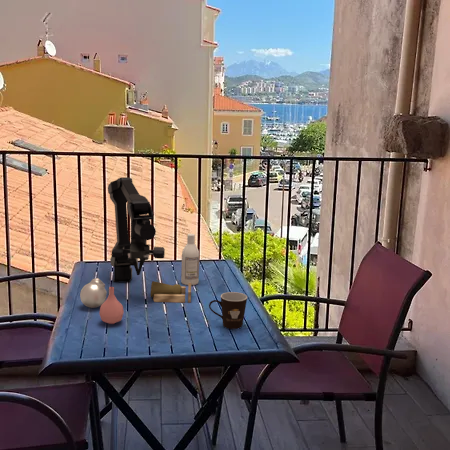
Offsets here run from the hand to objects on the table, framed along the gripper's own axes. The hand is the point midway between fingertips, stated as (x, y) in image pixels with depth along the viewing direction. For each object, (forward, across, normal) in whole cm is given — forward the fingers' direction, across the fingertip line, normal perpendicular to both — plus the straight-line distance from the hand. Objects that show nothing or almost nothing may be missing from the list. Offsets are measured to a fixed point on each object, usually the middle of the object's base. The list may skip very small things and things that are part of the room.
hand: (138, 274), depth 205 cm
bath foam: (+9, +19, +16) cm, 27 cm away
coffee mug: (+8, +31, -26) cm, 41 cm away
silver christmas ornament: (+9, -14, -11) cm, 20 cm away
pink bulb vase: (+8, -7, -25) cm, 27 cm away
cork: (+5, +5, 0) cm, 7 cm away
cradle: (+8, +13, 0) cm, 15 cm away
